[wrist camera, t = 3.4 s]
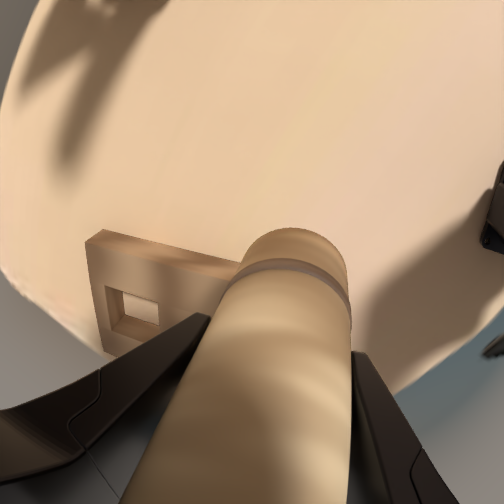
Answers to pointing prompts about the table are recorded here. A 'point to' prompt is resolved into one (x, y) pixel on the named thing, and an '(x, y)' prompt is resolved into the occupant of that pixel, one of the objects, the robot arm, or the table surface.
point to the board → (150, 285)
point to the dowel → (262, 388)
